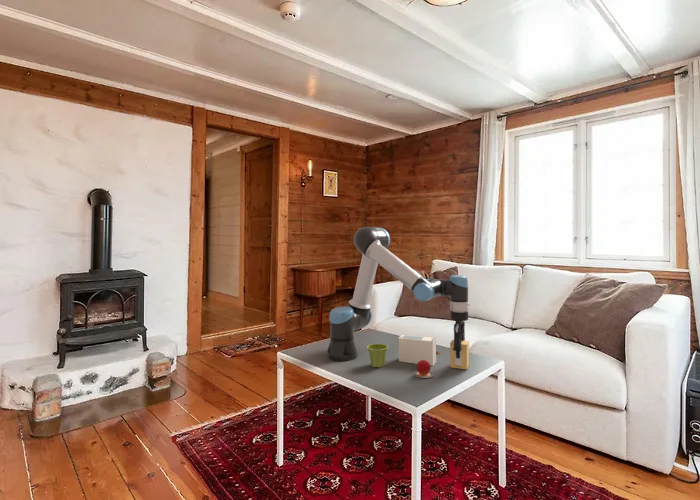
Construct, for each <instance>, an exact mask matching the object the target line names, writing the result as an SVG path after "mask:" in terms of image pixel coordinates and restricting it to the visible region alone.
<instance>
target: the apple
mask: <svg viewBox="0 0 700 500" xmlns="http://www.w3.org/2000/svg"><path fill="white" fill-rule="evenodd" d="M434 374H435V373H433V372H431V365H430V364H429V362H428V361H426V360H421V361H419V362H418V364H417V366H416V371H415V372H414V373H413V375H414V376H415V377H417V378H422V379H428V378H432V377H433V376H434Z"/></svg>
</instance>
